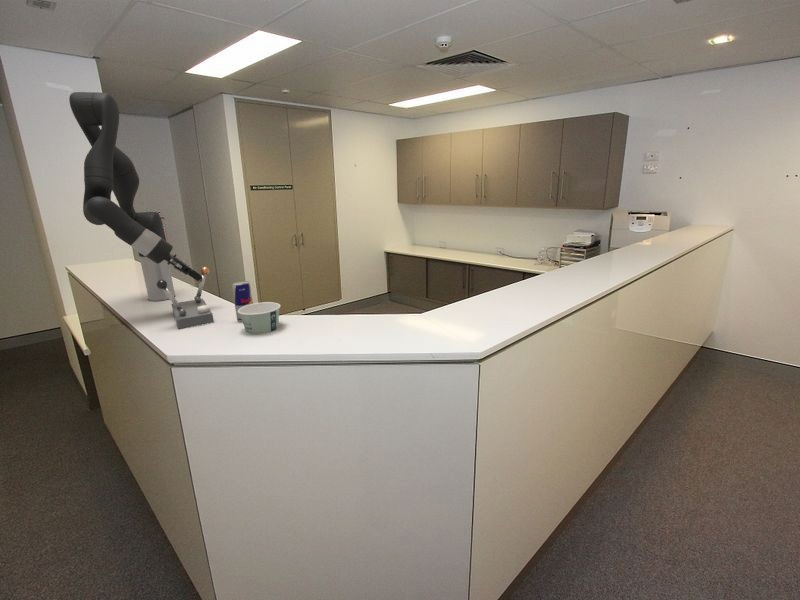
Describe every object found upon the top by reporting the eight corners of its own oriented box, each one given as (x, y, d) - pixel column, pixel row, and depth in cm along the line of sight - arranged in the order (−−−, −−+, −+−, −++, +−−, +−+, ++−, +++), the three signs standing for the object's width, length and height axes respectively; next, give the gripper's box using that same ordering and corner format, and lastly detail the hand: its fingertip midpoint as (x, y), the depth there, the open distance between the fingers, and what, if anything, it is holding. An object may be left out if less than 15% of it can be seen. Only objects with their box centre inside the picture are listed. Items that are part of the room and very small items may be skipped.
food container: (232, 332, 120) (228, 310, 118) (264, 320, 129) (261, 300, 128) (259, 338, 113) (256, 316, 112) (291, 325, 123) (289, 304, 121)
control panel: (172, 312, 142) (171, 303, 141) (204, 306, 147) (202, 298, 146) (178, 329, 124) (176, 319, 123) (213, 322, 129) (212, 313, 128)
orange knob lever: (192, 300, 141) (201, 265, 140) (200, 301, 143) (209, 267, 142) (193, 302, 139) (202, 266, 138) (202, 303, 140) (210, 268, 140)
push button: (197, 311, 130) (196, 306, 130) (208, 309, 132) (207, 304, 132) (198, 313, 128) (197, 308, 127) (209, 311, 129) (209, 306, 129)
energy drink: (249, 322, 127) (243, 285, 124) (233, 322, 128) (227, 285, 125) (258, 317, 132) (253, 281, 129) (243, 316, 133) (237, 281, 130)
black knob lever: (179, 315, 128) (154, 282, 122) (187, 311, 129) (163, 277, 123) (180, 318, 125) (154, 283, 120) (188, 313, 126) (163, 278, 121)
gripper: (161, 239, 125) (210, 273, 135) (159, 235, 136) (204, 267, 146) (144, 258, 124) (195, 291, 133) (143, 253, 135) (190, 284, 144)
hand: (200, 278), depth 140 cm, fingers closed
